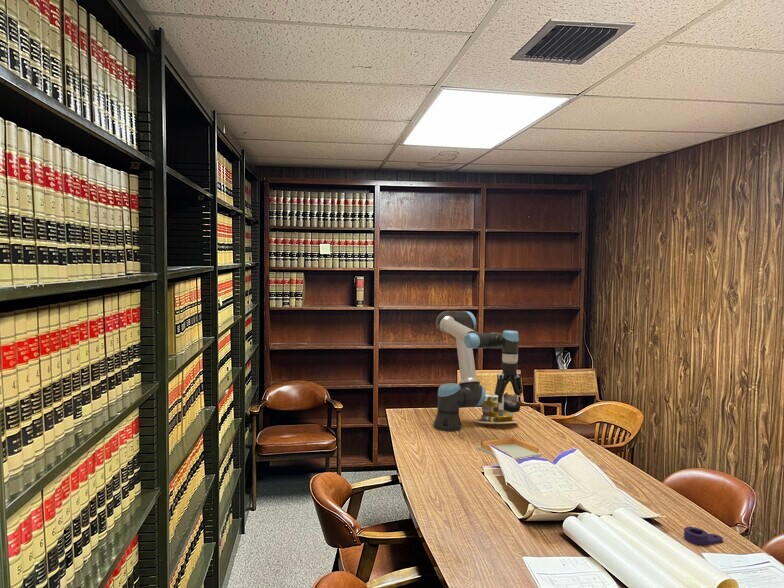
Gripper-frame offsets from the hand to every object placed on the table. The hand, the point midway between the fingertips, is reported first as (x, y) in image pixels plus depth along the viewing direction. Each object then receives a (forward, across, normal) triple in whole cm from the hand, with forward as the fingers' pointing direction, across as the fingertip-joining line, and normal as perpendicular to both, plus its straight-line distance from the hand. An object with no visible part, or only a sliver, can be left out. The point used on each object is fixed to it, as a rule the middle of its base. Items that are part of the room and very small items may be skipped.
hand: (508, 408), depth 255 cm
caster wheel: (+1, +1, -1) cm, 1 cm away
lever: (+20, -9, -100) cm, 102 cm away
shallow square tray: (+18, -7, -9) cm, 21 cm away
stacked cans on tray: (+18, +22, +34) cm, 44 cm away
